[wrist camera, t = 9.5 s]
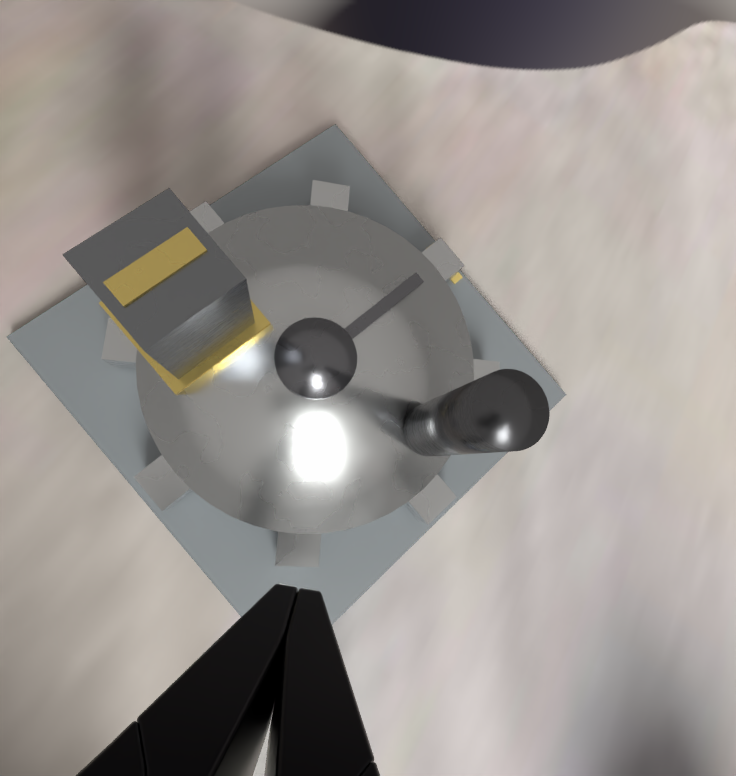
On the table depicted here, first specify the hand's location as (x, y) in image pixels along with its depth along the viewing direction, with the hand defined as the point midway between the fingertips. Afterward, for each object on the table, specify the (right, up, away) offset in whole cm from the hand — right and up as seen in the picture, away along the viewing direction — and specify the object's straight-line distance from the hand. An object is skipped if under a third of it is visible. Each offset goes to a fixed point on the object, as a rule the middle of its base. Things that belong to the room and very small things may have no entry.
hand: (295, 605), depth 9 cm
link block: (-6, +7, +11) cm, 15 cm away
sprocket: (-1, +5, +15) cm, 15 cm away
